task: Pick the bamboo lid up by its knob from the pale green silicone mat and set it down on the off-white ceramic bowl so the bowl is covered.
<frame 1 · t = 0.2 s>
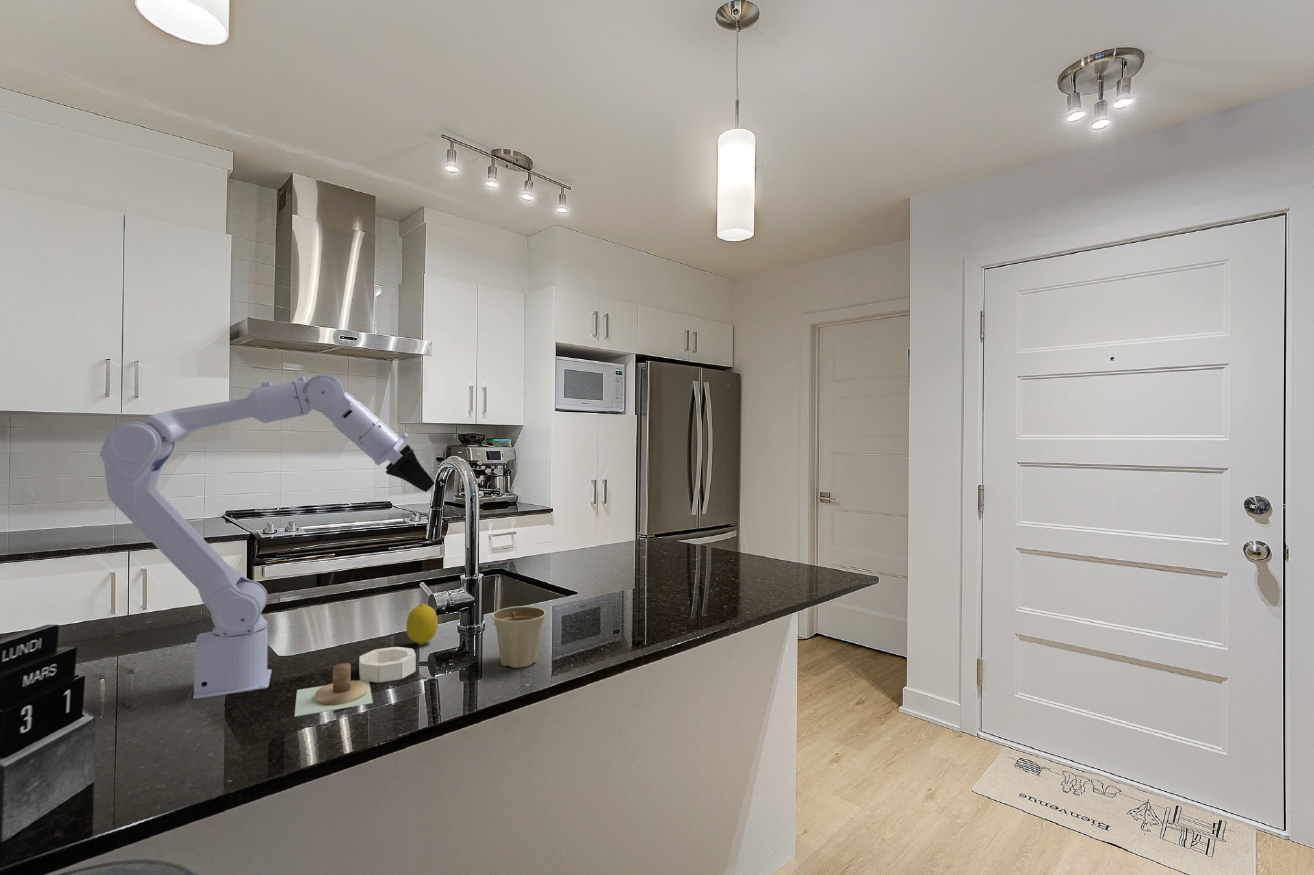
hand: (428, 485, 111), 31 cm above the table, tool tilted 45°, fingers open, 7 cm apart
flower pot: (518, 663, 110), on the table
bowl: (387, 673, 104), on the table
lemon: (421, 646, 118), on the table
lid: (341, 695, 95), resting on mat
mat: (334, 698, 94), on the table
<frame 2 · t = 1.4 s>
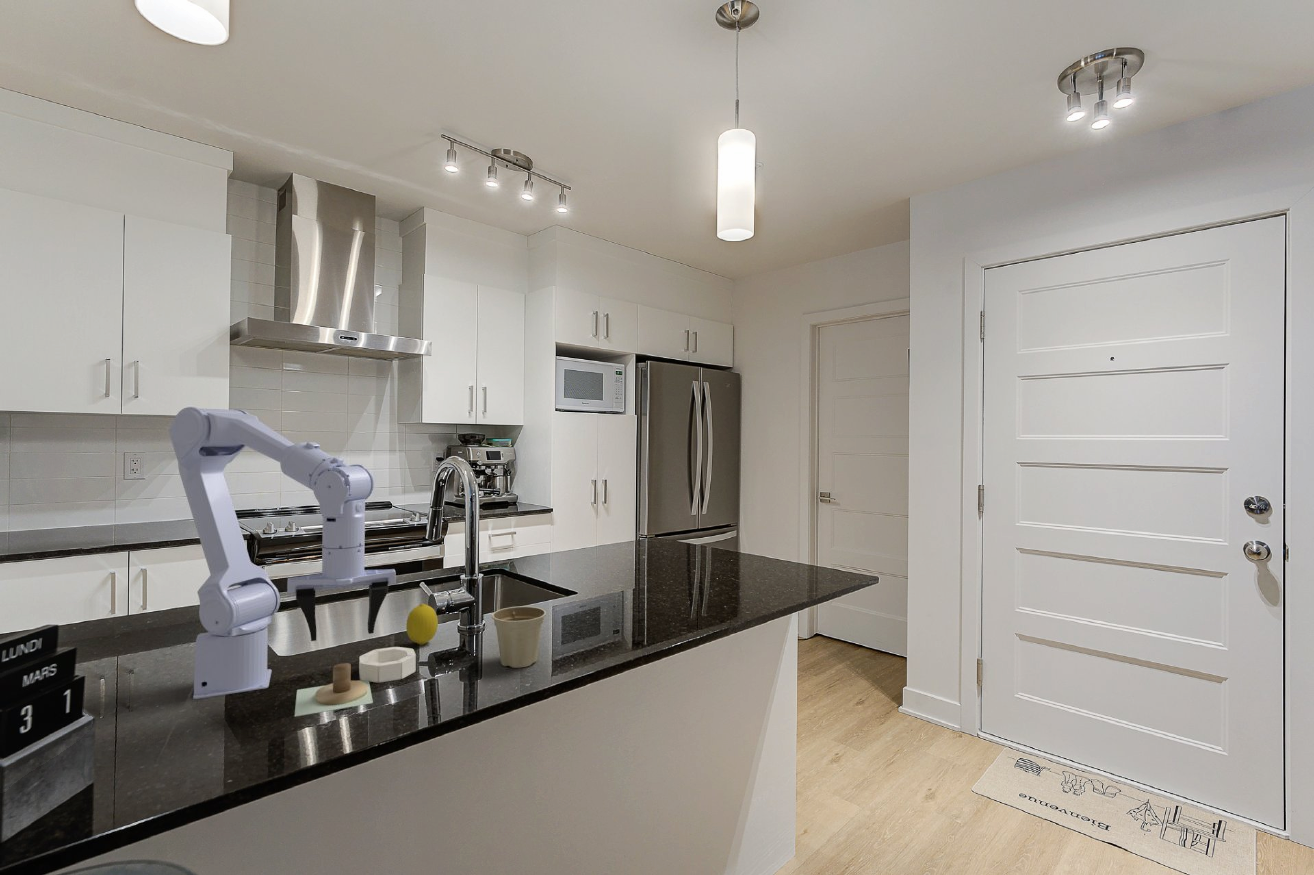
hand: (342, 635, 95), 9 cm above the table, tool pointing down, fingers open, 7 cm apart
nothing on the table moved.
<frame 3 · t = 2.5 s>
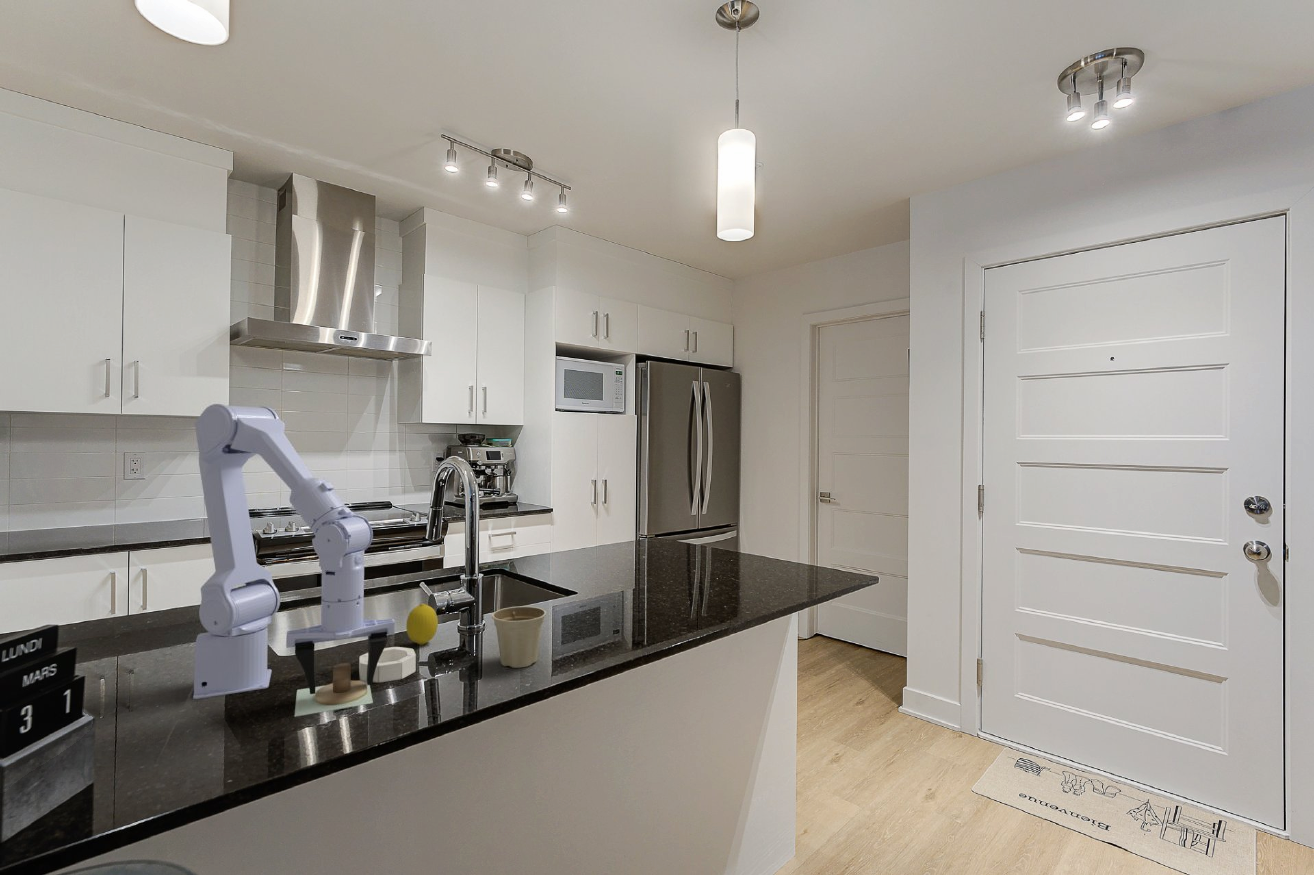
hand: (341, 687, 95), 2 cm above the table, tool pointing down, fingers open, 7 cm apart
nothing on the table moved.
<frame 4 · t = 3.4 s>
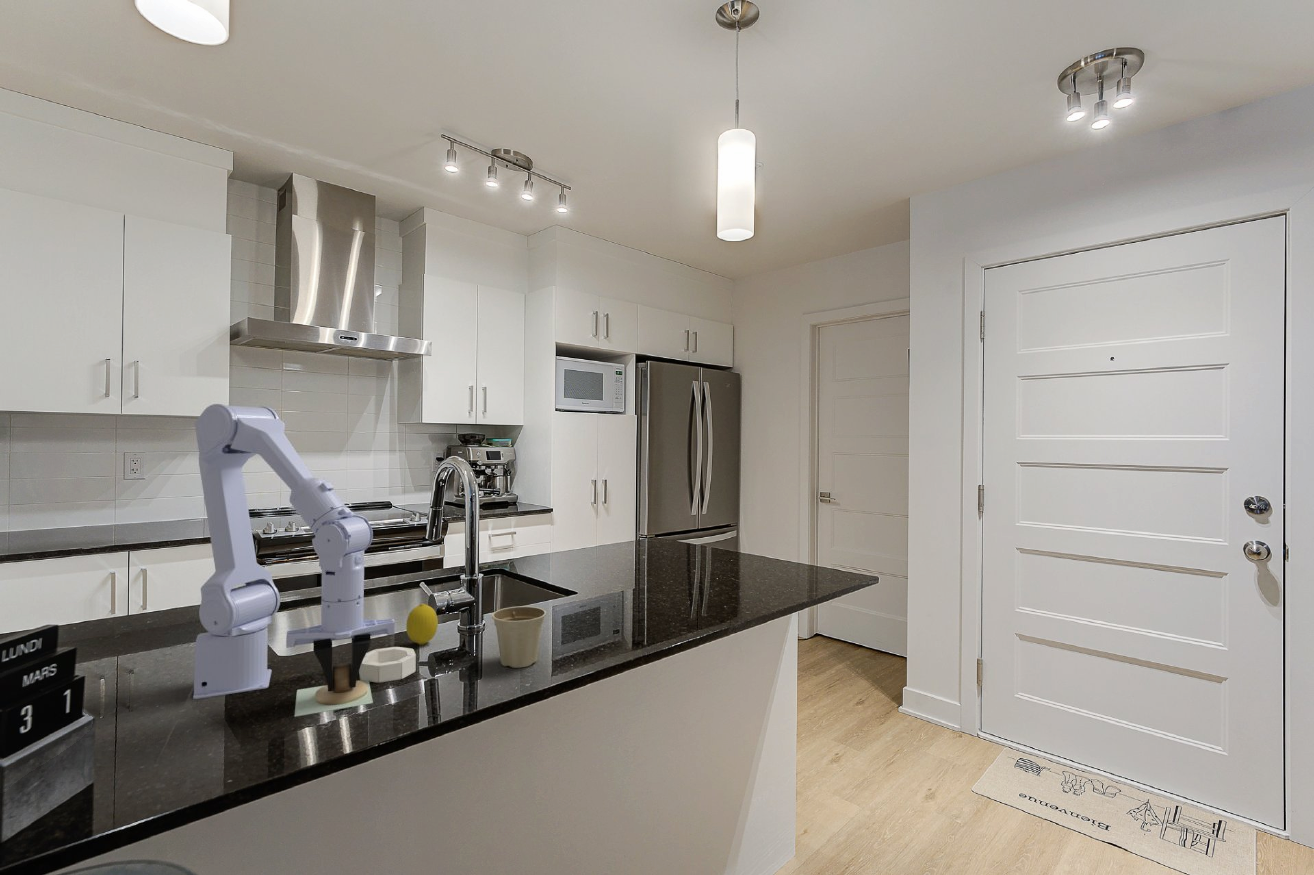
hand: (341, 687, 95), 2 cm above the table, tool pointing down, fingers closed on lid, 2 cm apart
lid: (341, 695, 95), resting on mat, touching gripper
everything else where it was.
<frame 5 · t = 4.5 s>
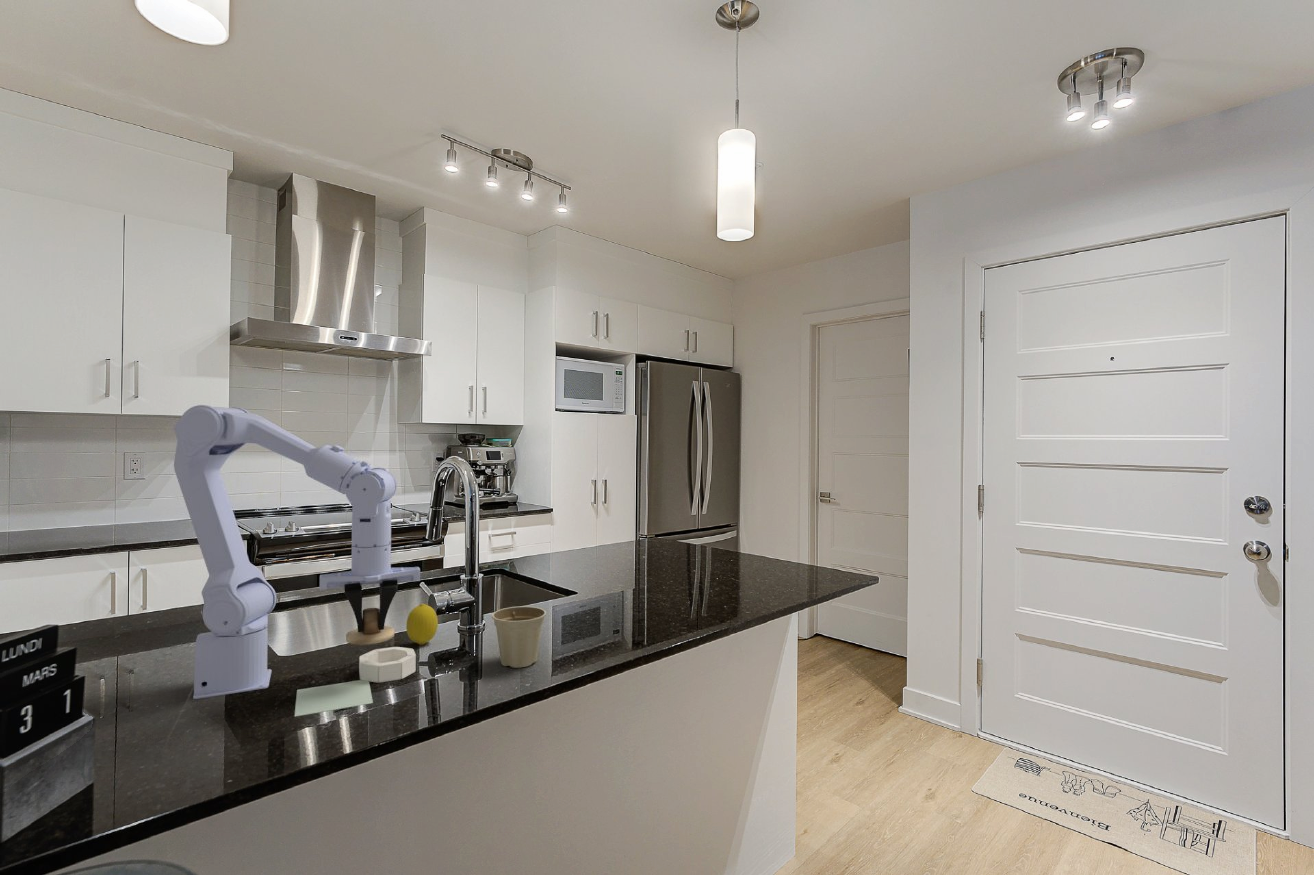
hand: (370, 629, 100), 9 cm above the table, tool pointing down, fingers closed on lid, 2 cm apart
lid: (370, 637, 100), point 7 cm above the table, touching gripper
everything else where it was.
when the fingers open (5 cm above the table, at t = 6.0 s): lid stays where it is, resting on bowl.
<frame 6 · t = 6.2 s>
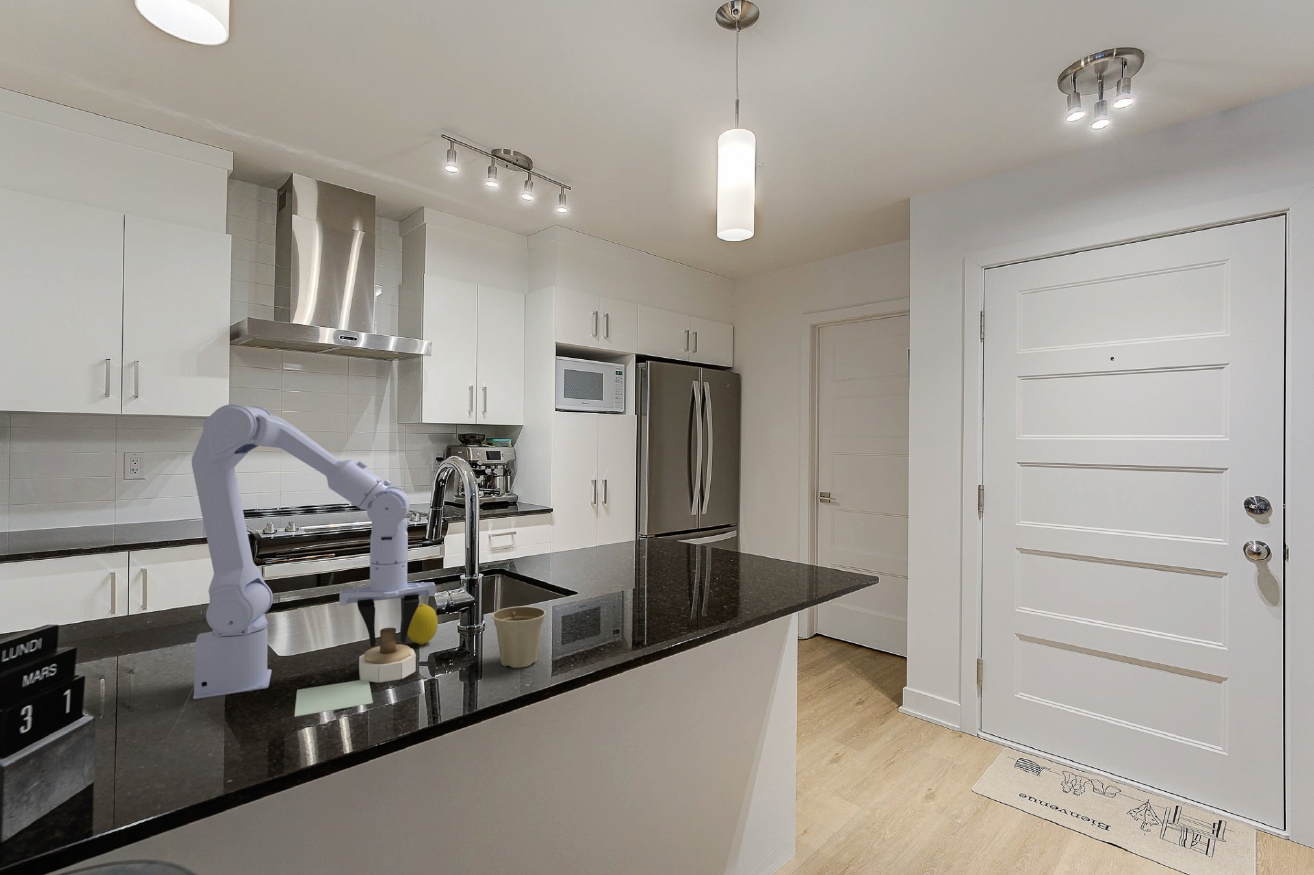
hand: (387, 642, 104), 5 cm above the table, tool pointing down, fingers open, 4 cm apart
lid: (387, 656, 104), point 3 cm above the table, touching bowl
everything else where it was.
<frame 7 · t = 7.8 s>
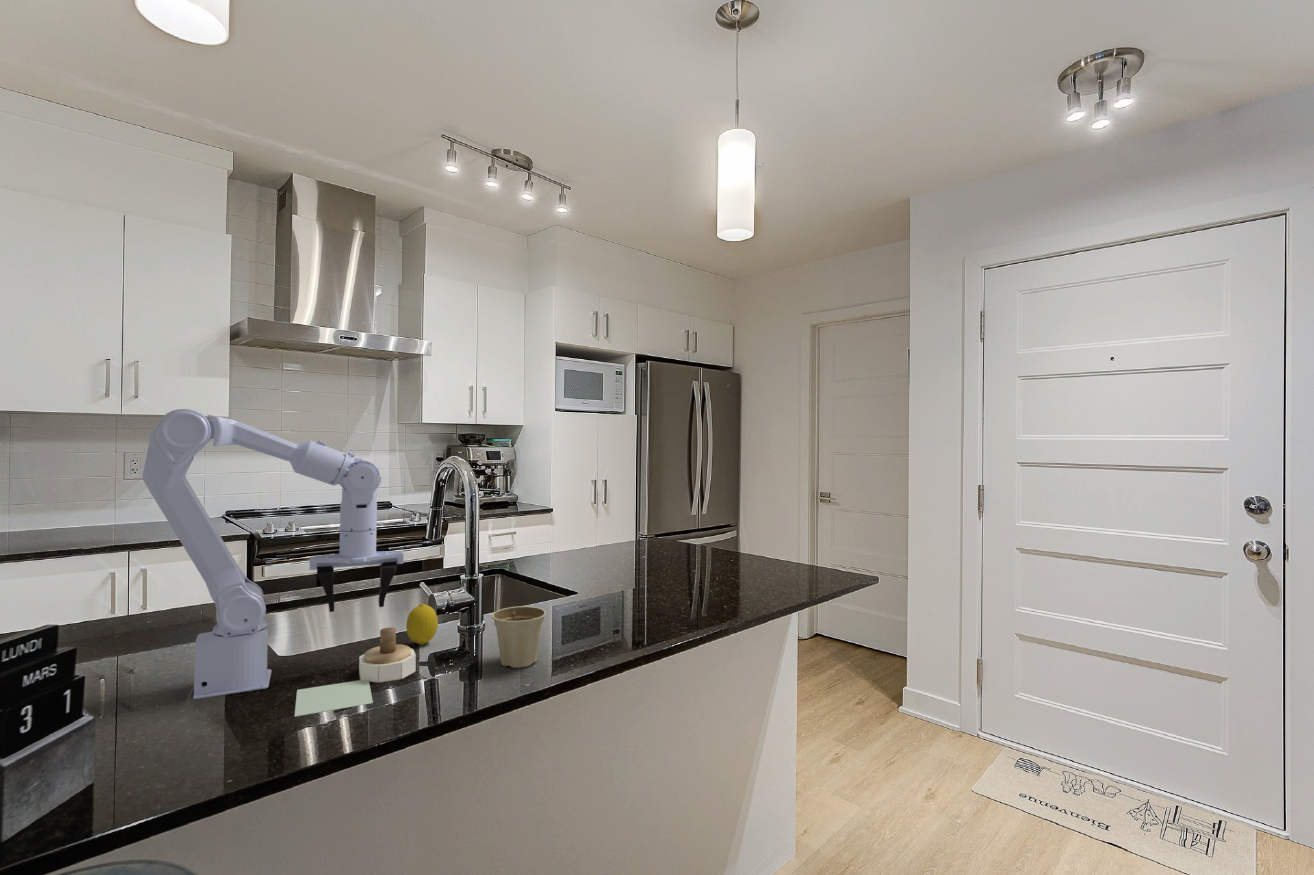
hand: (356, 608, 108), 10 cm above the table, tool pointing down, fingers open, 7 cm apart
nothing on the table moved.
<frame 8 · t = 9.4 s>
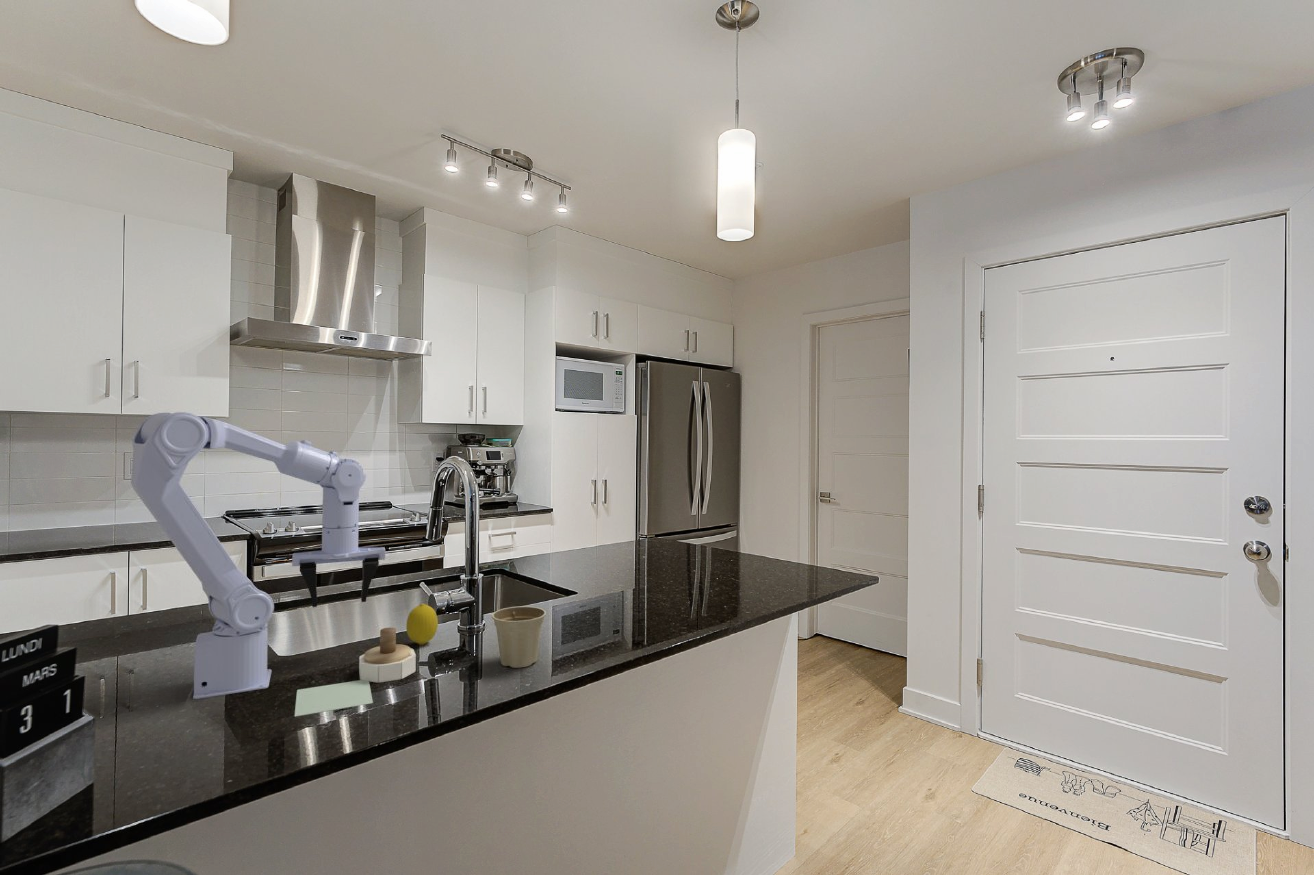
hand: (339, 603, 110), 10 cm above the table, tool pointing down, fingers open, 7 cm apart
nothing on the table moved.
at the end: lid 0.1 cm off-centre on the bowl, point 3.0 cm above the bowl's base; lid tilted 0°; the gripper is holding nothing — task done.
